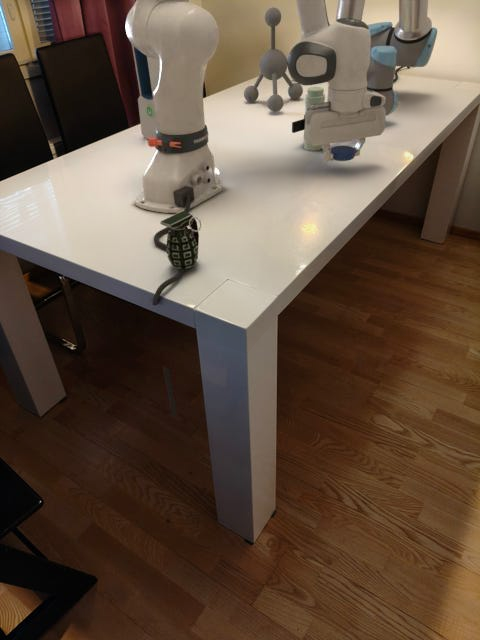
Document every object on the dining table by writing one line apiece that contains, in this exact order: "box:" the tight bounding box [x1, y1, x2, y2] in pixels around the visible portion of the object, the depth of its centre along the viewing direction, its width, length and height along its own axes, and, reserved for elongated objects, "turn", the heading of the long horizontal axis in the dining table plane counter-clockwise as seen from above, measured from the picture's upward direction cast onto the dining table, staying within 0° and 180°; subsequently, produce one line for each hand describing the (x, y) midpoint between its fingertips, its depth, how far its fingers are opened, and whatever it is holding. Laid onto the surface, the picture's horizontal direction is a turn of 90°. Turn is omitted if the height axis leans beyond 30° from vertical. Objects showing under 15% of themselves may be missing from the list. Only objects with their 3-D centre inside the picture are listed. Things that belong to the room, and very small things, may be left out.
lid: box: [330, 145, 356, 162], centre depth 122 cm, size 6×6×2 cm
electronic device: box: [131, 44, 160, 140], centre depth 143 cm, size 12×8×30 cm, turn 47°
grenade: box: [159, 211, 202, 271], centre depth 88 cm, size 7×6×10 cm
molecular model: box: [243, 6, 304, 113], centre depth 169 cm, size 24×22×30 cm
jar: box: [303, 86, 326, 152], centre depth 135 cm, size 5×5×16 cm
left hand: (342, 157), depth 123 cm, fingers closed on lid, 6 cm apart
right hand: (300, 129), depth 133 cm, fingers closed on jar, 5 cm apart
